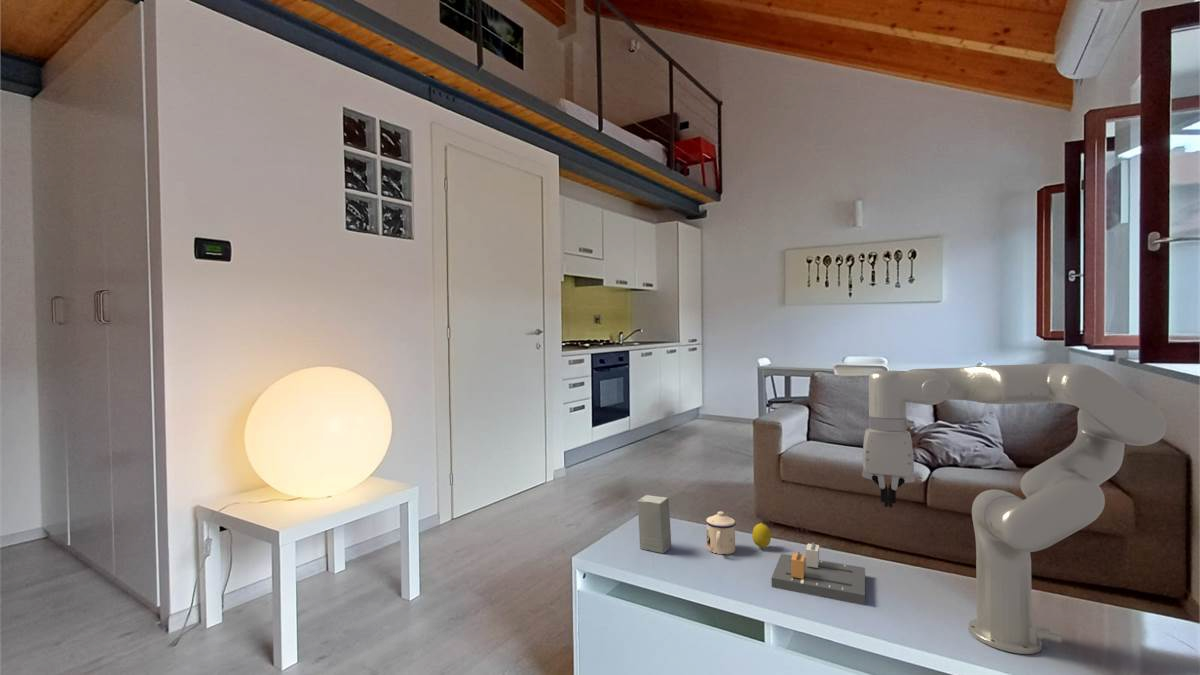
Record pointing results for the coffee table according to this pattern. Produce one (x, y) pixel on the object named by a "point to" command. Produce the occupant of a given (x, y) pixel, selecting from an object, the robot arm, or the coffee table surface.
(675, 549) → the coffee table surface
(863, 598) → the console
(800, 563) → the fader orange
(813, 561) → the fader white
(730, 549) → the teacup with lid
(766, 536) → the lemon
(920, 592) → the coffee table surface
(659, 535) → the skincare box
